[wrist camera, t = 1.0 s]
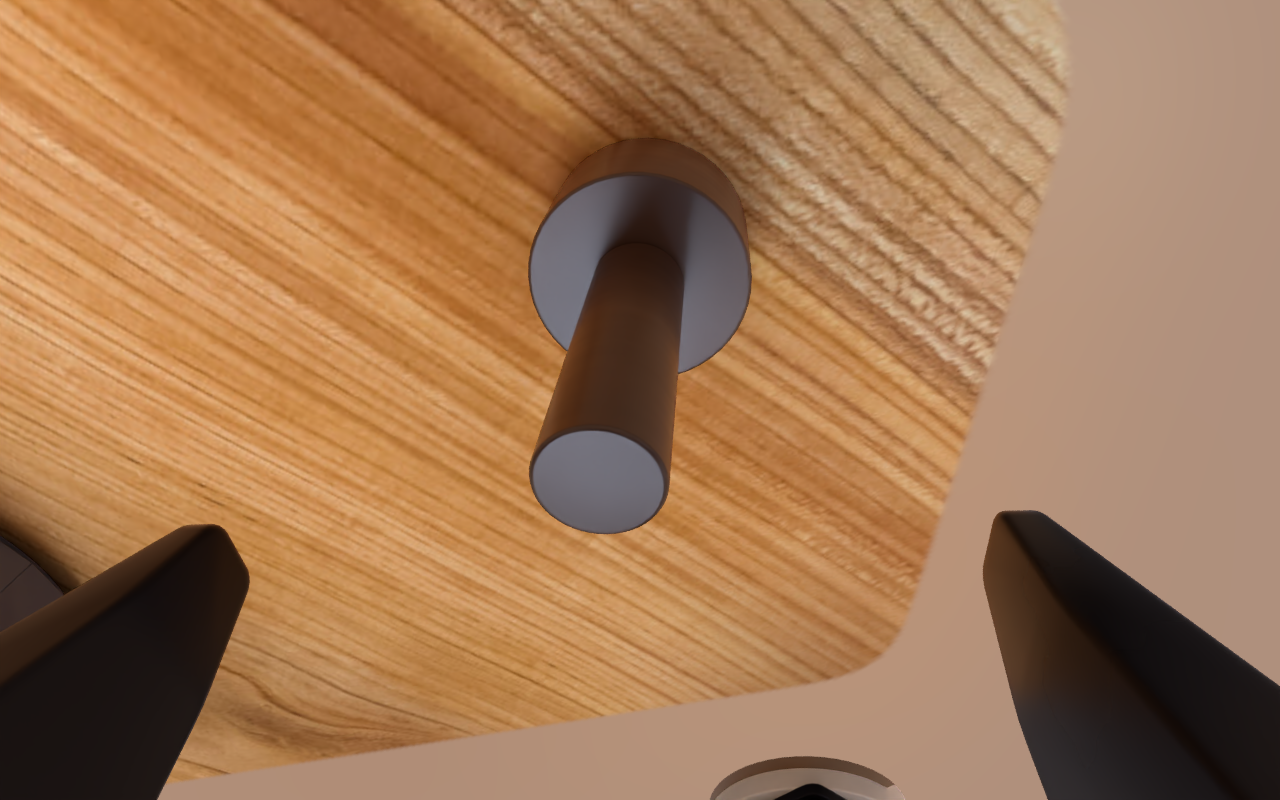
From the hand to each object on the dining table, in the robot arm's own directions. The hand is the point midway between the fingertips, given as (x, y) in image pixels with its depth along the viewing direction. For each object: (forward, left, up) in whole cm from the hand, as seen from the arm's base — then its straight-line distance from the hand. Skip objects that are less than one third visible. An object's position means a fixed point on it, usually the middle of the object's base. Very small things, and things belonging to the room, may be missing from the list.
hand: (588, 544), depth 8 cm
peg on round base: (0, 0, -10) cm, 10 cm away
